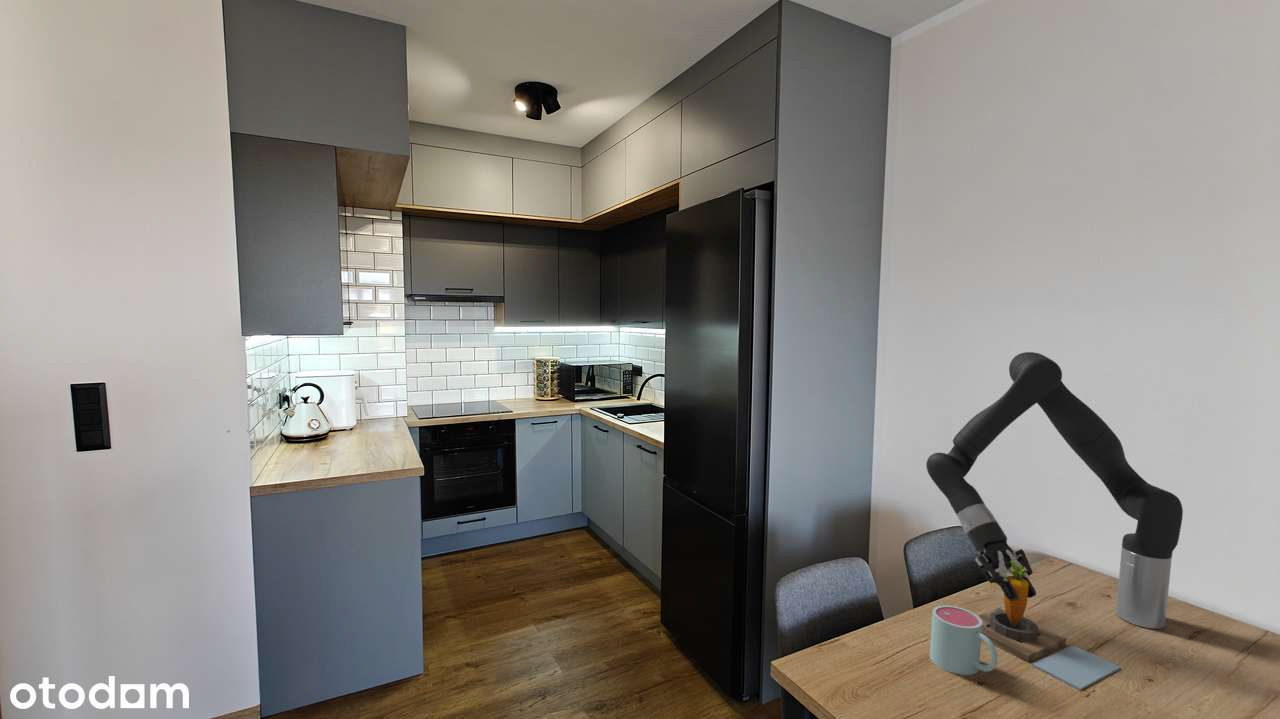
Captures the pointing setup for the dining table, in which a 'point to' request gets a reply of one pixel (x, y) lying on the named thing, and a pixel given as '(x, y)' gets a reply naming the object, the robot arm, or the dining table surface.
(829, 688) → the dining table surface
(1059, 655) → the slate mat
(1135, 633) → the dining table surface
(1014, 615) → the carrot
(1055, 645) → the ring stand
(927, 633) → the dining table surface
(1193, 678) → the dining table surface
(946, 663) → the mug
